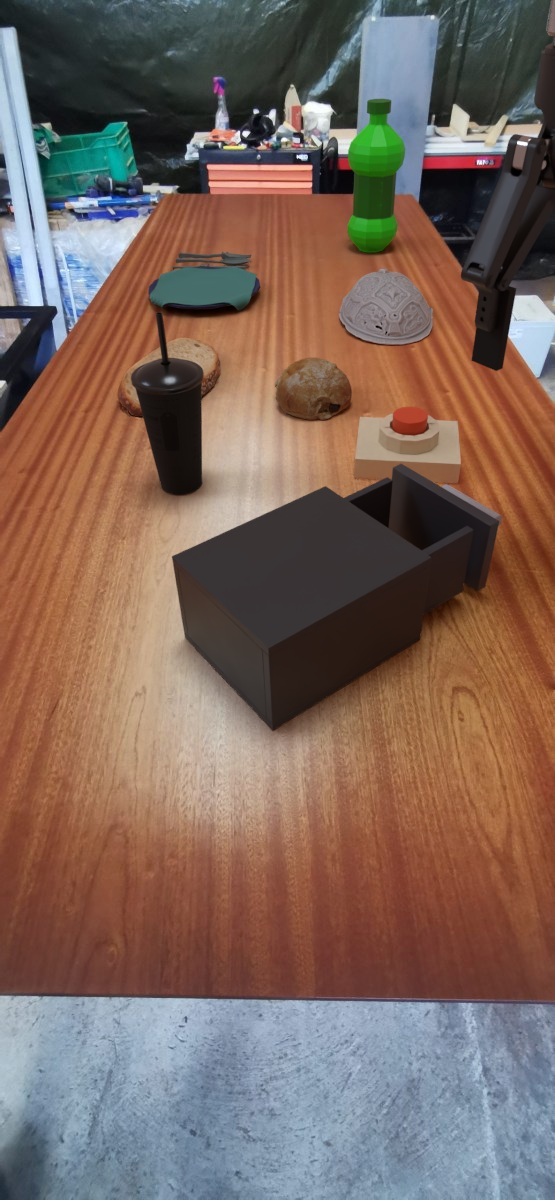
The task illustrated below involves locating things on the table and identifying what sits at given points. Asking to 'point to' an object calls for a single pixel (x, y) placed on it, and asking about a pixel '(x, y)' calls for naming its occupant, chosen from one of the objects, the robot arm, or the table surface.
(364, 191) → the plastic bottle
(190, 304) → the cutlery set
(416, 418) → the button
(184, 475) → the drinking cup
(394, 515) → the drawer
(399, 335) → the grey ornate dome
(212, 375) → the slice of bread
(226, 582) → the cabinet
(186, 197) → the table surface
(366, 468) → the control block
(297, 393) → the bread roll
